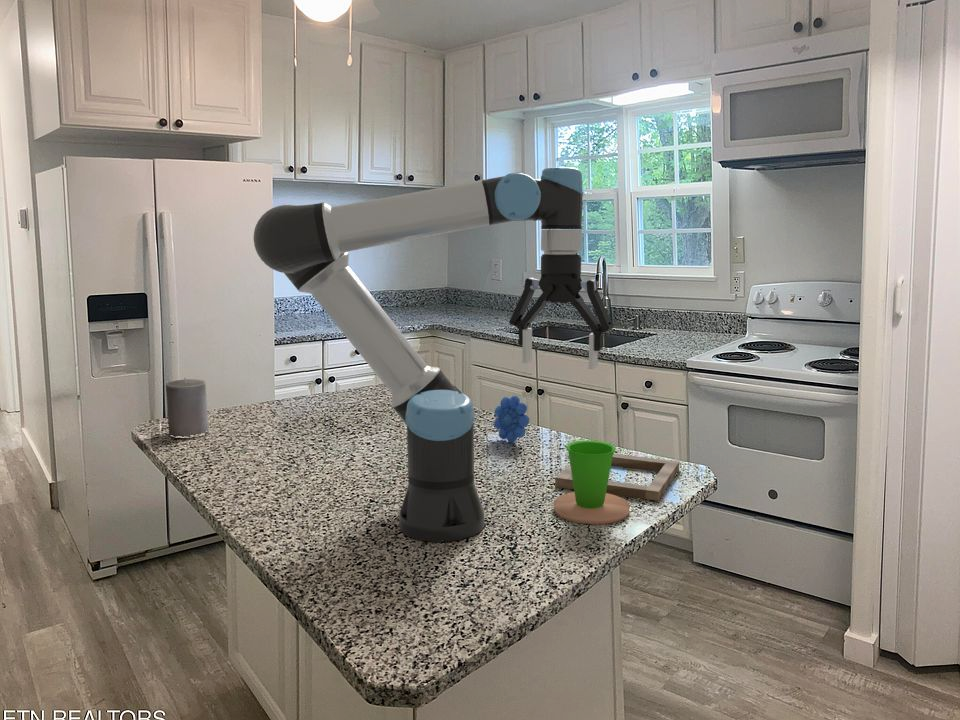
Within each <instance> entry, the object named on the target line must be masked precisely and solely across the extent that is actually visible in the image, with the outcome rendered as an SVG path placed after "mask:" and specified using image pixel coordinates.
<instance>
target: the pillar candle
mask: <svg viewBox="0 0 960 720" xmlns="http://www.w3.org/2000/svg"><path fill="white" fill-rule="evenodd" d="M165 391H166V392H165V393H166V395H165V396H166V405H167V406H166V407H167V424H168V435H169V434H170V435H173V436H190V435H196V434H201V433H204V432H206V431H208V432H209V418H208V416H209V415H208V404H207V403H208V402H207V401H208V400H207V387H206V380H202V379H191V378H190V379H186V377H184V379H177V380H172V381H168V382H167V383H166V384H165Z"/></svg>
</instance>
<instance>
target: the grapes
mask: <svg viewBox="0 0 960 720" xmlns="http://www.w3.org/2000/svg"><path fill="white" fill-rule="evenodd" d="M499 402H500V403H499V405H497V406H496V407H495V408H494V409H495V410H494V415H495V417H496V419H495V420H494V422H493V426H494V428H495V429H496V430H499V431H498V437H499V438H500V439H501V440H507V442H509V443H512V444H513V443H516V441H517V440H518V439H522V438H524V436H525V435H526V431H527V430H526V428H527V426H529V424H530V417H529V416H528V415H527V414H526V413H527V411H528V406H527V404H526V403H525V402H521V399H520V398H519V397H518V396H517V395H512V396H511V397H510V398H509V397H508V396H505V397H503V398H501V400H500V401H499ZM525 427H526V428H525Z"/></svg>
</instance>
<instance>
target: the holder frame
mask: <svg viewBox="0 0 960 720" xmlns="http://www.w3.org/2000/svg"><path fill="white" fill-rule="evenodd" d="M612 466H613V467H618V468H619V467H621V468H628V469H636V470H644V471H645V470H646V471H653V472H658V473H657V474H656V476H655V477H654V478H653V480H651V482H650V483H649V485H643V484H636V483H630V482H629V483H628V482H621V481H614V480H608V485H607V490H606V493H608V494H612V495H616V496H618V497H621V498H624V497H625V498H629V497H631V498H630V499H636V498H640V499H639V500H643V499H647V500H646V501H650V500H655V501H654V502H657V501H658V502H659V501H660V500H661V498H662V497H663V496H664V494H665V493H666V491H667V489H668V488H669V486H670V485H671V484H672V482H673V480H674V479H675V477H676V476H677V474H678V473H679V471H680V461H678V460H671V459H669V460H668V459H662V458H652V457H643V456H638V455H637V456H635V455H627V454H620V453H619V454H618V453H613V457H612V463H611V467H612ZM677 472H678V473H677ZM676 473H677V474H676ZM675 475H676V476H675ZM673 478H674V479H673ZM671 481H672V482H671ZM669 484H670V485H669ZM554 487H555V488H559V489H566V490H573V489H574V486H573V479H572V472H571V466H570V464H569V465H568V466H566V467H565V468H564V469H563V470H562V471H561V472H560V473H558V475H556V476H555V477H554ZM667 487H668V488H667ZM666 488H667V489H666ZM665 490H666V491H665ZM663 493H664V494H663ZM661 496H662V497H661ZM632 497H633V498H632ZM659 499H660V500H659Z"/></svg>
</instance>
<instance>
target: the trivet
mask: <svg viewBox="0 0 960 720" xmlns="http://www.w3.org/2000/svg"><path fill="white" fill-rule="evenodd" d="M553 512H554V513H555V514H556V516H558V517H559V518H561V519H564V520H566V521H569V522H573V523H577V524H582V525H607V524H614V523H618V522H620V521H623V520H625V519H626V518H627V517H628V516H629V515H630V503H629V502H628V501H627V500H626V499H625V498H624V497H622V496H616V495H612V494H608V493H606V495H605V501H604V504H603V506H602V507H599V508H594V509H588V508H583V507H580V506H578V505H577V503H576V499H575V493H574V491H573V492H568V493H564V494H561V495H559V496H557V497H556V498H555V499H554V500H553Z"/></svg>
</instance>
